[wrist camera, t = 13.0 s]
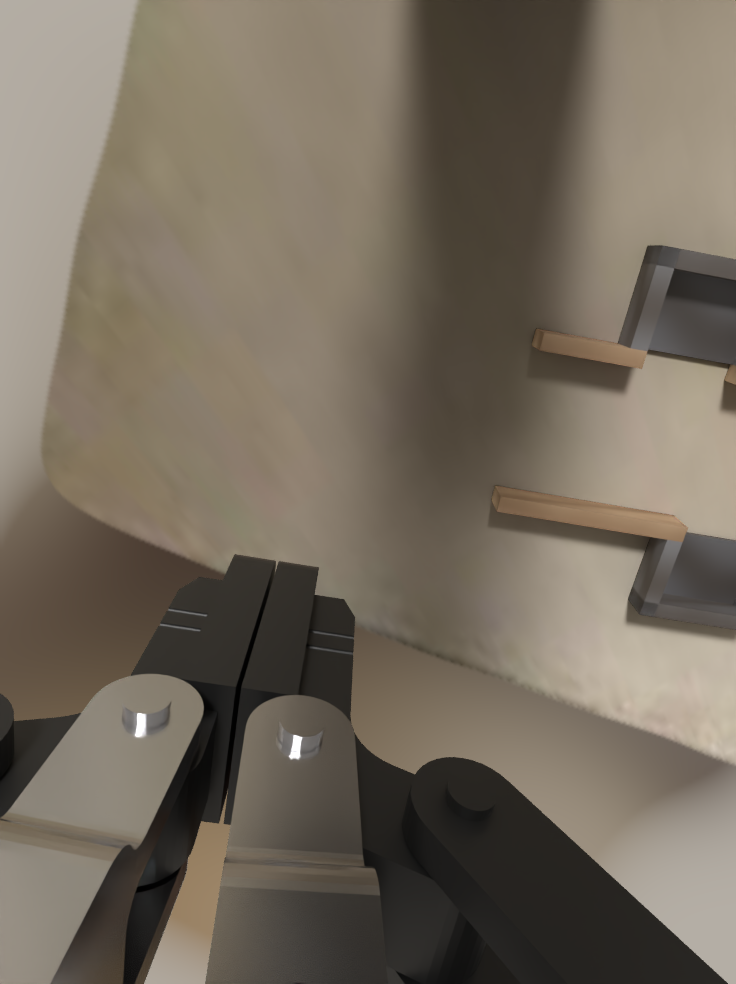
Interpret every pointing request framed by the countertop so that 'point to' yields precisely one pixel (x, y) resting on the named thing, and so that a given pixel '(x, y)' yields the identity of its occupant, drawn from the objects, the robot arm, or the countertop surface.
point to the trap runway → (648, 325)
